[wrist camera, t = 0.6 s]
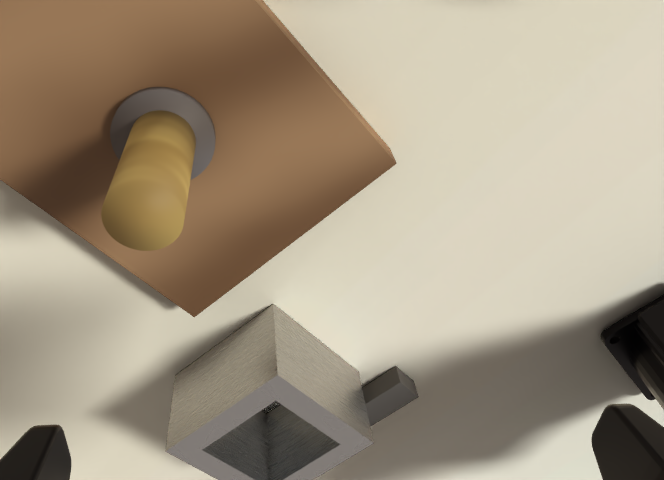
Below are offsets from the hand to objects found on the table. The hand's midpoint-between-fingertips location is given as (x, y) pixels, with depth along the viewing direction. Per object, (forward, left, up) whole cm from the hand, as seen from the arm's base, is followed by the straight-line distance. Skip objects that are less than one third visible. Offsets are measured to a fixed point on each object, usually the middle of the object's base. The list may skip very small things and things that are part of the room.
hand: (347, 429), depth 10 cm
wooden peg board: (+3, +3, -13) cm, 14 cm away
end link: (-9, +9, -13) cm, 18 cm away
